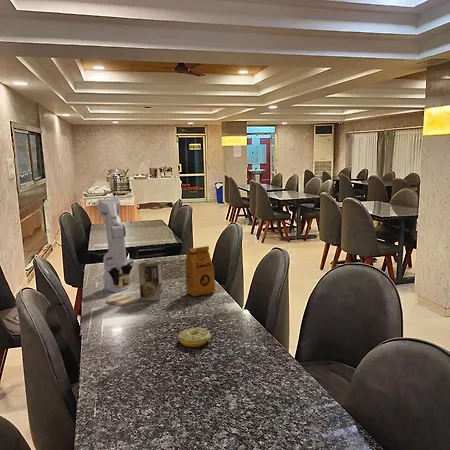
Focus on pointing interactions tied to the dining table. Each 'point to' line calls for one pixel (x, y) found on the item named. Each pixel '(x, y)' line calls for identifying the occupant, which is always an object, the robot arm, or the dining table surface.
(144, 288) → the coffee box
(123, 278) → the letter block
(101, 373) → the dining table surface
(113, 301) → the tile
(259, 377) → the dining table surface
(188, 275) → the coffee package
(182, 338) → the decorated donut
